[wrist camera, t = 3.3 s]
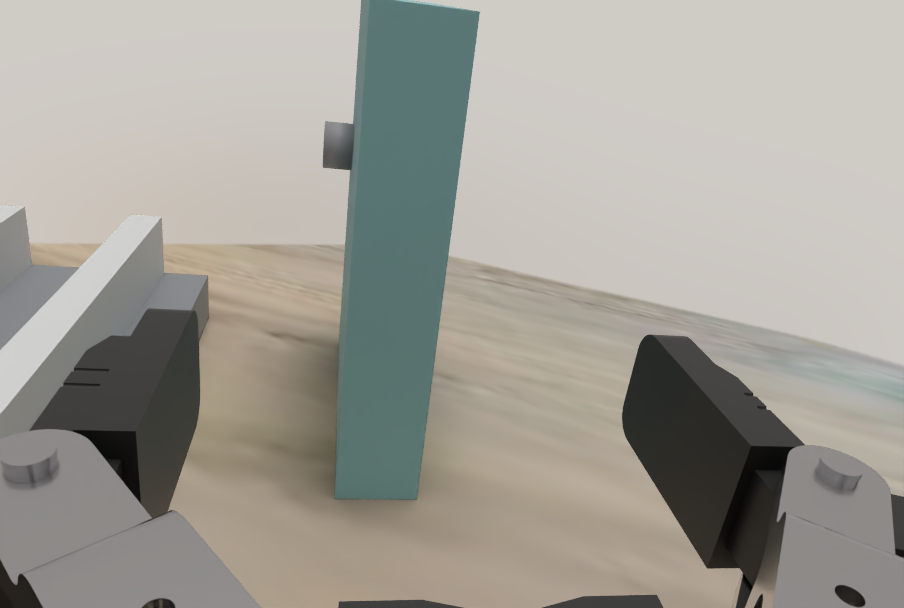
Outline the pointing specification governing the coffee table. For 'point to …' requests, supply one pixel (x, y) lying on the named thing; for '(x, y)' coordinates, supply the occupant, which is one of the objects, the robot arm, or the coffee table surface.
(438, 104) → the door panel
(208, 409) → the coffee table surface
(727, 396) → the robot arm
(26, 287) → the track board
